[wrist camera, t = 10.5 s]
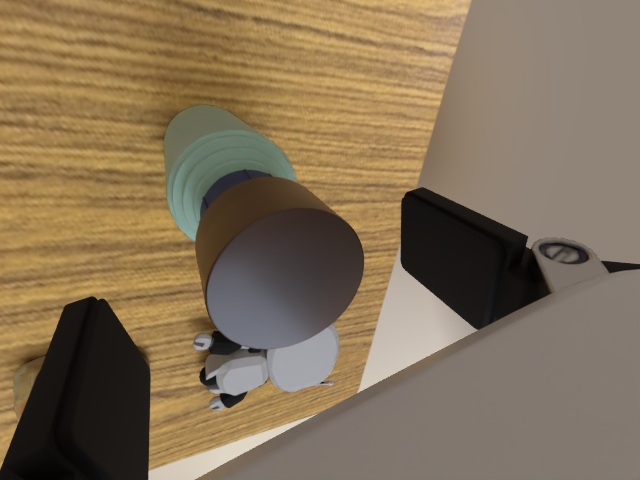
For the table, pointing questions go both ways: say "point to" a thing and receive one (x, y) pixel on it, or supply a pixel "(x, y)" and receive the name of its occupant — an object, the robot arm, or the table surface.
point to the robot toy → (264, 365)
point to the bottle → (212, 158)
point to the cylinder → (275, 263)
